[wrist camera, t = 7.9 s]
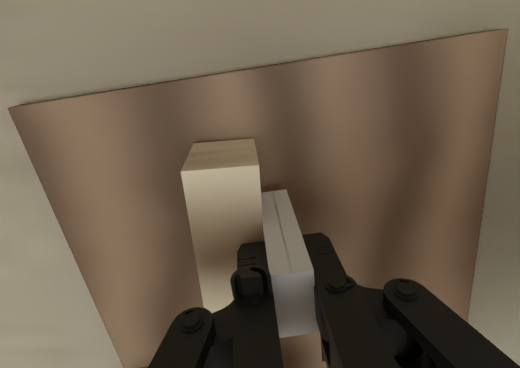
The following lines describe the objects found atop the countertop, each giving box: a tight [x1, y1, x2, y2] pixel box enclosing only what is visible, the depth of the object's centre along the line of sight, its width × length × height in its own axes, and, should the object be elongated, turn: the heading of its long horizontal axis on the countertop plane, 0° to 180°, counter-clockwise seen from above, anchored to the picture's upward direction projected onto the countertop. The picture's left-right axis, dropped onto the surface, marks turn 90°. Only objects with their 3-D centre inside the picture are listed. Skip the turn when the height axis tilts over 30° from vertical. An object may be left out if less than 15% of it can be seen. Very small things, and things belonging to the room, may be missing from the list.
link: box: [181, 138, 264, 313], centre depth 19 cm, size 24×5×4 cm, turn 4°
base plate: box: [8, 29, 508, 368], centre depth 22 cm, size 24×30×1 cm
